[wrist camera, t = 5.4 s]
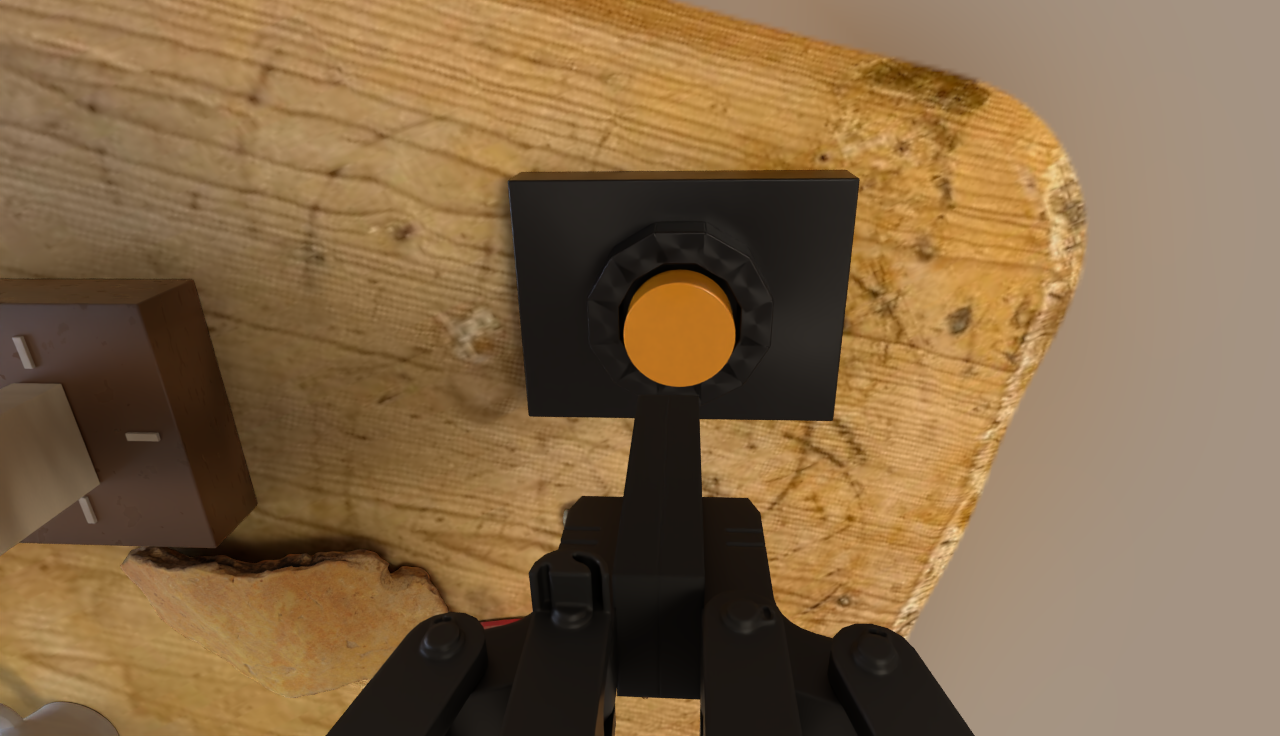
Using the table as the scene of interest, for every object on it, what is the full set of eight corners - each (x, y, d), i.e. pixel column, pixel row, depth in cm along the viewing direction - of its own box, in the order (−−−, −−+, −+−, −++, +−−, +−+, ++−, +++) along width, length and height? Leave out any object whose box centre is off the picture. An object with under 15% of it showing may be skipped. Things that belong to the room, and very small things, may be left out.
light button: (625, 268, 26) (621, 282, 24) (734, 269, 25) (738, 282, 24) (628, 368, 27) (624, 386, 26) (730, 369, 27) (733, 388, 25)
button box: (520, 171, 28) (494, 188, 24) (847, 169, 27) (872, 186, 23) (538, 394, 32) (519, 437, 28) (823, 398, 31) (842, 443, 27)
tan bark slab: (482, 658, 39) (443, 518, 35) (453, 727, 35) (405, 579, 31) (217, 641, 42) (149, 510, 38) (164, 703, 38) (83, 565, 34)
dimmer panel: (-39, 278, 31) (-126, 303, 28) (194, 278, 31) (133, 305, 27) (55, 500, 36) (-9, 544, 33) (258, 505, 35) (213, 551, 32)
